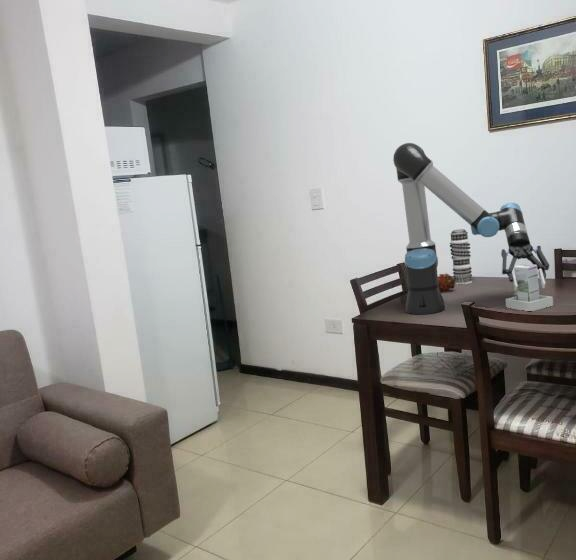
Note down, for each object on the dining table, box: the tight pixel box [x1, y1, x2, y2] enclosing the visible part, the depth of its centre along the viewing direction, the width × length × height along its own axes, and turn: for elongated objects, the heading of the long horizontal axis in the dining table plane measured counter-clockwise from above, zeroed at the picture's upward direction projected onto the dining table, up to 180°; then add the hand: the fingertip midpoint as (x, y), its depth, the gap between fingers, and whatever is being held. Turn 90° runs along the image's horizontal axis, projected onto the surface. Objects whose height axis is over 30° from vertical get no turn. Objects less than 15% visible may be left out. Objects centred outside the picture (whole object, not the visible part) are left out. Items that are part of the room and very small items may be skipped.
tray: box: [505, 294, 554, 312], centre depth 202 cm, size 11×11×3 cm
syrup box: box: [513, 263, 540, 302], centre depth 201 cm, size 6×6×14 cm
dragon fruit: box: [438, 273, 457, 293], centre depth 249 cm, size 8×8×12 cm
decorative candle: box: [449, 228, 473, 285], centre depth 260 cm, size 9×9×25 cm
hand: (529, 286), depth 197 cm, fingers open, 9 cm apart
